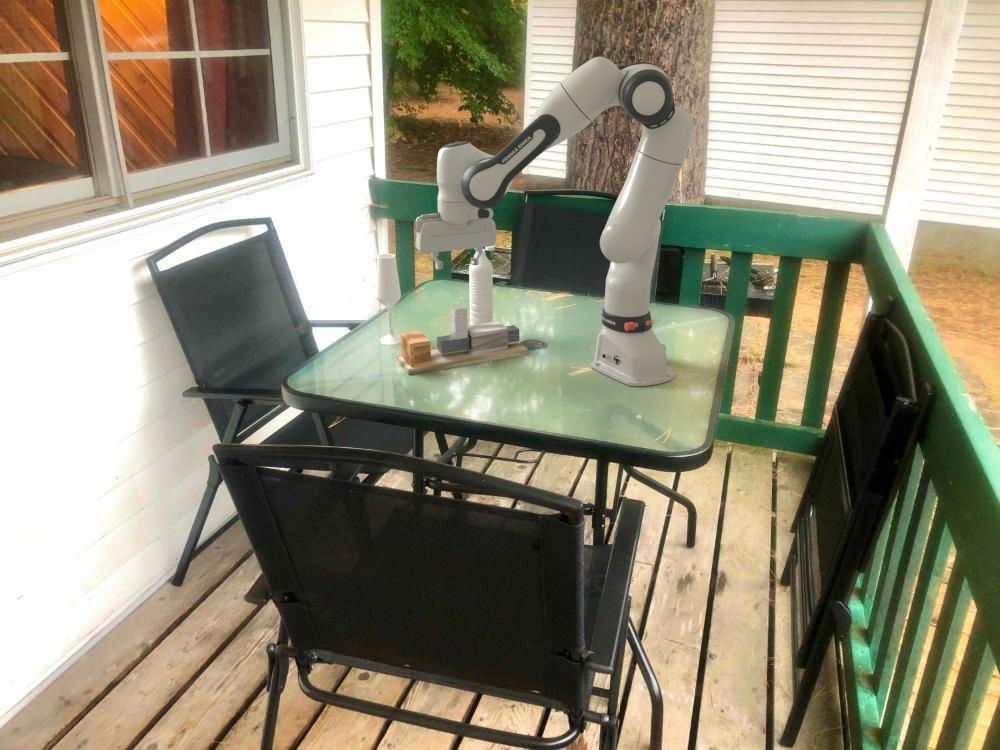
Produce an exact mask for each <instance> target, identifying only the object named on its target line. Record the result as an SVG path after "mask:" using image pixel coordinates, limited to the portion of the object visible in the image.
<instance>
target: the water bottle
mask: <svg viewBox="0 0 1000 750" xmlns="http://www.w3.org/2000/svg"><path fill="white" fill-rule="evenodd" d="M486 251H487V252H488V251H490V252H491V251H495V245H494V246H490V247H484V248H483V252H482V254H481V256H480V258H479V264H478V265H474V266H473V265H471V263H469V266H468V275H469V276H468V277H469V278H468V279H469V280H468V281H469V283H468V284H469V285H468V287H469V297H468V298H469V320H470V321H469V326H470V325H476V324H483V323H490V322H494V309H493V308H494V293H493V292H494V287H493V286H494V283H493V280H494V278H493V277H494V276H493V274H494V269H493V268H494V267H493V264H492V262H491V260H490V259H489V257H487V255H486Z"/></svg>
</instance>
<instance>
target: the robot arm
mask: <svg viewBox="0 0 1000 750" xmlns="http://www.w3.org/2000/svg"><path fill="white" fill-rule="evenodd" d="M616 106H617V107H618V106H619V107H622V108H623V109H624V111H625V112H626V113H627V115H629V116H630V118H632V120H634V121H636V122H638V123H640V124H641V125H642V127H643V128H642V134H641V137H640V140H639V143H638V145H637V147H636V151H635V154H634V157H633V160H632V162H631V165H630V168H629V172H628V174H627V177H626V179H625V182H624V185H623V187H622V189H621V190H620V192H619V194H618V196H617V198H616V200H615V203H614V206H613V207H612V210H611V212H610V214H609V216H608V218H607V221H606V224H605V226H604V229H603V230H602V232H601V235H600V239H599V247H600V250H601V252H602V254H603V256H604V257H605V259H607V260H608V261H610V262H609V263H610V264H609V268H608V271H607V275H606V278H605V291H604V306H603V309H602V311H601V312H602V313H601V324H602V327H601V328H600V331H599V333H598V335H597V339H596V345H595V353H594V360H592V361H591V362H590V368H591V369H593V370H595V371H597V372H599V373H601V374H603V375H605V376H607V377H610V378H611V379H614V380H616V381H617V382H620V383H622V384H624V385H627V386H629V387H646V386H647V387H648V386H653V385H659V384H663V383H667V382H670V381H673V380H674V379H675V378H676V377H677V375H676V372H675V371H674V370H673V369H672V368H671V367H670V366H668V365H667V360H668V358H667V353H666V349H667V348H666V345H665V344H663V343H661V342H660V340H659V339H658V337H657V335H656V334H655V332H654V331H653V330H654V329H652V328H653V325H654V324H655V323H654V321H655V319H652V315H651V311H650V301H651V300H650V298H651V287H652V286H651V285H652V278H653V274H654V268H655V264H656V259H657V253H658V246H659V240H660V235H661V229H662V221H661V216H662V214H663V212H664V210H665V208H666V206H667V204H668V201H670V199H671V196H672V194H673V191H674V188H675V186H676V183H677V180H678V178H679V175H680V173H681V170H682V167H683V165H684V162H685V159H686V158H687V157H686V156H687V154H688V149H689V147H690V142H691V139H692V133H693V127H694V121H693V118H692V116H691V115H690V113H689V112H688V111H686V110H685V109H683V108H682V107H679V106H676V104H675V99H674V92H673V88H672V84H671V82H670V79H669V77H668V76H667V74H666V72H665V71H664V70H663V69H661V68H660V67H658V66H657V65H656V64H653V63H651V62H646V61H645V62H644V61H641V62H640V61H639V62H635V63H634V62H633V63H631V64H627V65H622V66H618V67H617V65H616V64H615V63H614V62H613V61H612V60H611V59H609V58H607V57H604V56H595V57H593V58H591V59H590V60H588V61H586V62H585V63H583V64H582V65H580V66H579V67H578V68H576V69H574V70H573V71H572V72H570V74H568V75H567V76H566V77H565V78H564V79H562V80H561V82H559V83H558V84H557V85H556V86H555V87H554V88H553V89H552V90H551V91H550V92H549V93H548V94H547V96H546V97H545V98H544V100H543V101H542V102H541V104H540V105H539V107H538V108H537V110H536V111H535V113H534V114H533V116H532V118H531V119H530V121H529V122H528V123H527V125H526V126H525V127H524V129H522V131H520V133H519V134H518V135H517V136H516V137H515V138H513V139H512V140H511V141H510V142H509V143H508V144H507V145H506V146H505V147H503V148H502V149H501V150H500V151H499V152H498V153H496V155H492V154H489V153H487V152H484V151H482V150H480V149H479V148H477V147H475V146H474V145H473V144H472V143H471V142H469V141H466V140H465V141H455V142H452V143H447V144H445V145H443V146H442V147H441V148H440V149H439V150H438V154H437V161H436V182H437V186H438V193H437V198H436V199H437V212H433V213H423V214H421V215H420V216H418V217H417V218H416V220H415V223H414V225H415V232H416V236H415V238H416V239H415V248H416V249H417V251H418V252H419V253H421V254H430V256H431V258H432V260H433V261H434V265H435V266H434V268H435V270H444V262H443V261H441V260H439V258H438V257H439V256H440V255H439V253H441V252H442V253H443V252H450V251H452V252H453V251H461V250H469V249H474V251H475V253H474V254H473V257H472V256H471V257H470V264H471V265H473V266H474V265H478V264H479V258H480V256H481V254H482V252H483V249H484V248H485V247H490V246H494V247H495V245H496V243H497V241H498V240H497V228H496V222H495V221H494V219H493V217H494V211H493V209H491V208H495V206H497V205H498V204H499V203H500V202H501V201H502V199H503V198H504V196H505V195H506V194H507V193H508V192H509V190H510V189H511V187H512V185H513V183H514V178H515V177H517V176H518V175H519V174H520V173H521V172H522V171H523V170H524V169H525V168H526V167H528V166H529V165H530V164H531V163H532V162H533V161H535V159H537V158H538V157H539V156H540V155H541V154H543V153H544V152H546V151H548V150H549V149H551V148H553V147H554V146H557V145H559V144H561V143H562V142H564V141H566V140H568V139H570V138H571V137H574V135H577V134H578V133H579V132H581V131H582V130H583V129H585V128H586V127H587V126H589V125H590V124H591V123H592V122H593V121H594V120H595V119H597V118H598V117H599V116H600V114H601V113H602V112H604V111H606V110H608V109H610V108H612V107H616Z"/></svg>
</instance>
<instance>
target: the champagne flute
mask: <svg viewBox="0 0 1000 750" xmlns="http://www.w3.org/2000/svg"><path fill="white" fill-rule="evenodd" d="M398 273H399V272H398V267H397V260H396V255H395V254H393V253H381V254H378V255H377V256H376V282H375V283H376V284H375V285H376V286H375V288H376V289H375V297H376V299H377V301H378V302H379V303H380V305H382V306H384V307H385V308H387V309H386V310H387V311H386V312H387V325H388V327H387V328H388V334H386V335H384V336H383V337H382V338H380V339H379V340H380V342H381V343H380V342H379V343H380V344H383V345H387V346H392V345H398V344H401V340H400V335H397V334H395V333H394V326H393V311H392V307H394V306H396V304H397V303H398V302H399V301H400V299H401V297H402V292H401V286H400V279H399V274H398Z"/></svg>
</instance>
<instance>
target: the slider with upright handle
mask: <svg viewBox="0 0 1000 750" xmlns="http://www.w3.org/2000/svg"><path fill="white" fill-rule="evenodd" d="M448 308H449V309H448V310H449V314H448V315H449V334H448V335H442V336H441V335H439V336H436V349H437V350H438V351H439V352H440V353H441V354H443V353H449V352H455V351H462V350H468V349H471V336H470V335H469V334H468V326H469V323H468V321H469V320H468V307H467V306H466V305H464V304H463V303H456V304H449V305H448ZM505 327H507V328H508V343H511V342H517V341H518V342H520V328H518V327H517V326H516V325H505Z"/></svg>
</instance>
